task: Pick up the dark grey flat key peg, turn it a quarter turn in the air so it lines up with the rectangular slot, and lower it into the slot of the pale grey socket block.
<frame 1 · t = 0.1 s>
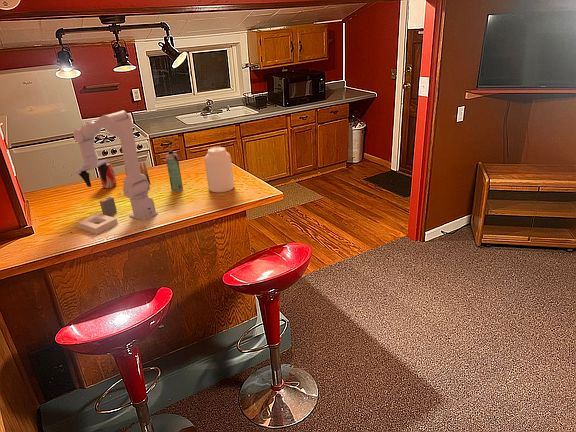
hand: (96, 183, 194), 10 cm above the countertop, tool pointing down, fingers open, 7 cm apart
spray can: (177, 190, 209), on the countertop
soda can: (110, 186, 218), on the countertop
ammunition clip: (139, 185, 218), on the countertop
white plastic jar: (221, 188, 208), on the countertop
socket block: (98, 225, 177), on the countertop
key peg: (110, 214, 187), on the countertop
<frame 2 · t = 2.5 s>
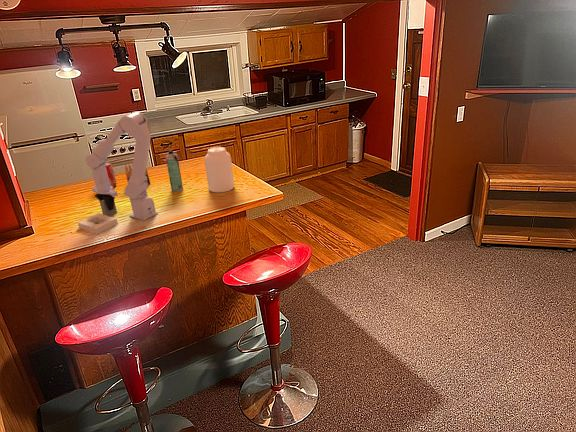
hand: (108, 208, 186), 2 cm above the countertop, tool pointing down, fingers closed on key peg, 3 cm apart
key peg: (110, 213, 187), on the countertop, touching gripper
everything else where it was.
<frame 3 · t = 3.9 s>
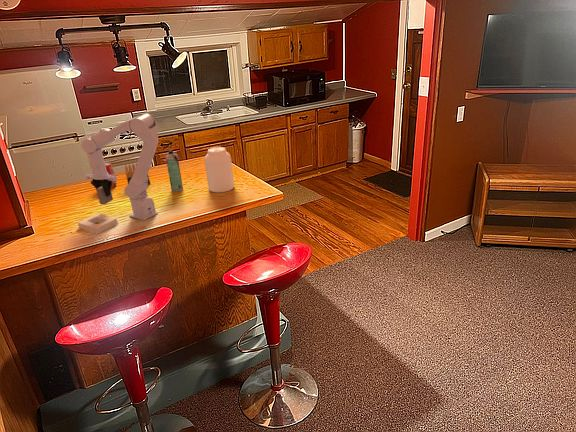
hand: (105, 195, 183), 9 cm above the countertop, tool pointing down, fingers closed on key peg, 3 cm apart
key peg: (106, 201, 184), point 6 cm above the countertop, touching gripper
everything else where it was.
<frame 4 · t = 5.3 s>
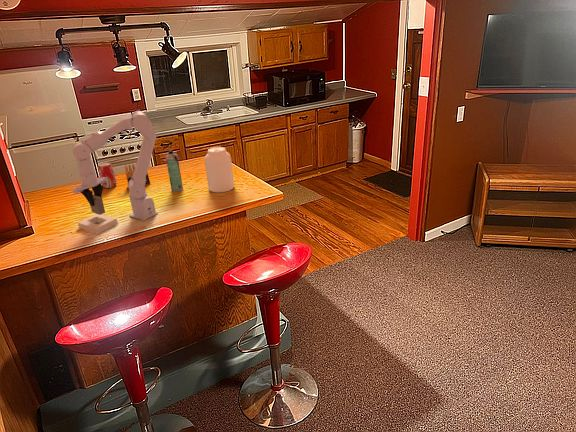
hand: (95, 203, 175), 9 cm above the countertop, tool pointing down, fingers closed on key peg, 3 cm apart
key peg: (98, 212, 177), point 5 cm above the countertop, touching gripper
everything else where it was.
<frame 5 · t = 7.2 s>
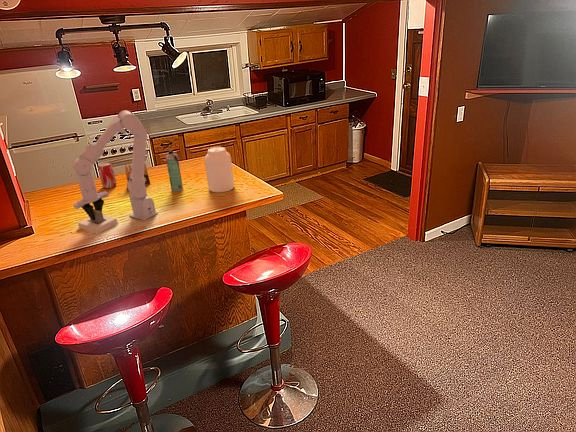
hand: (96, 218, 175), 4 cm above the countertop, tool pointing down, fingers closed on key peg, 3 cm apart
key peg: (99, 226, 177), resting in socket block, touching gripper
everything else where it was.
when the fingers open (3 cm above the countertop, at t = 8.2 s): key peg stays where it is, resting in socket block.
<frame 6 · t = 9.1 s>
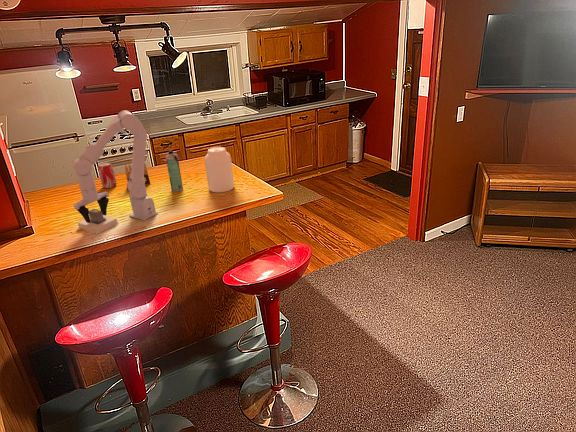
hand: (96, 218, 175), 3 cm above the countertop, tool pointing down, fingers open, 7 cm apart
key peg: (99, 226, 177), resting in socket block
everything else where it was.
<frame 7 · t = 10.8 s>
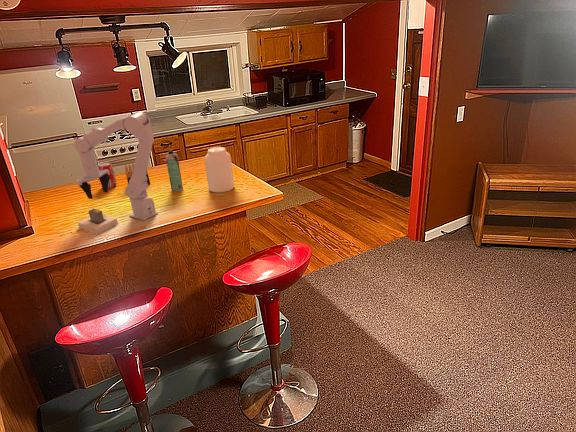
hand: (98, 195, 183), 9 cm above the countertop, tool pointing down, fingers open, 7 cm apart
nothing on the countertop moved.
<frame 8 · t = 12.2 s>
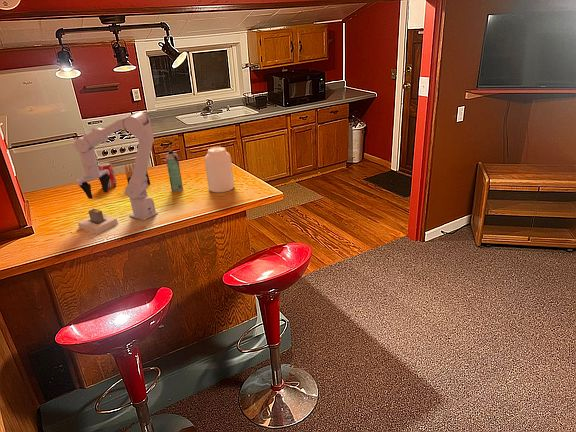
hand: (98, 195, 183), 9 cm above the countertop, tool pointing down, fingers open, 7 cm apart
nothing on the countertop moved.
at the end: key peg 0.4 cm from the target spot, resting in socket block; key peg tilted 0°; the gripper is holding nothing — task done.
